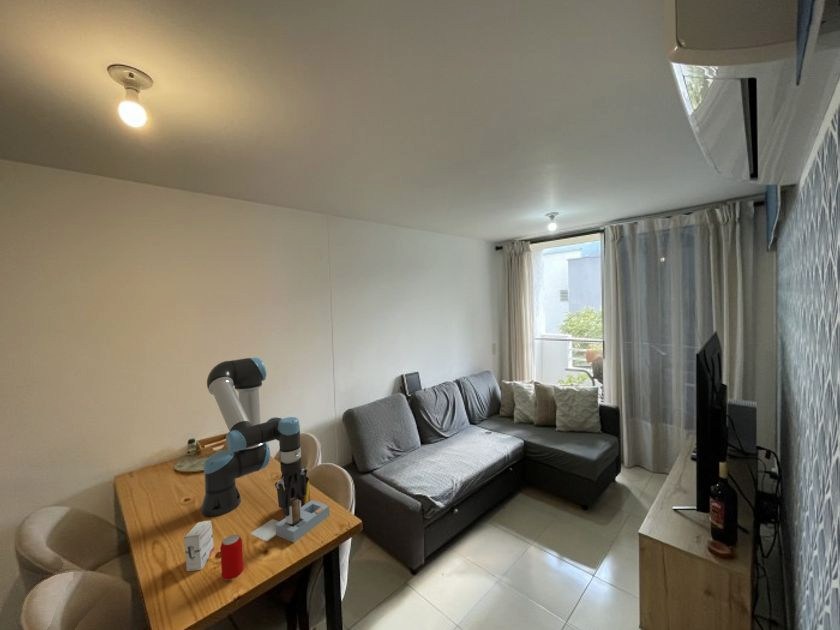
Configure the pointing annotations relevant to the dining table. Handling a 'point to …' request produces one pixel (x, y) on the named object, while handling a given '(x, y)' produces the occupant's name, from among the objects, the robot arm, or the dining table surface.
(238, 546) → the beverage can
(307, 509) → the socket block
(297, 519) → the plug
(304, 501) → the mug
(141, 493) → the dining table surface
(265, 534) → the white flat square
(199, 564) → the ink box
